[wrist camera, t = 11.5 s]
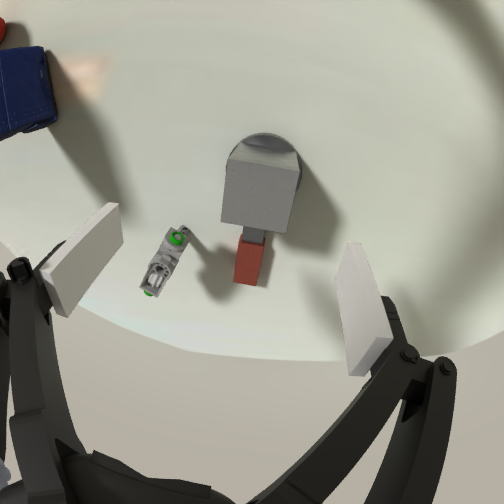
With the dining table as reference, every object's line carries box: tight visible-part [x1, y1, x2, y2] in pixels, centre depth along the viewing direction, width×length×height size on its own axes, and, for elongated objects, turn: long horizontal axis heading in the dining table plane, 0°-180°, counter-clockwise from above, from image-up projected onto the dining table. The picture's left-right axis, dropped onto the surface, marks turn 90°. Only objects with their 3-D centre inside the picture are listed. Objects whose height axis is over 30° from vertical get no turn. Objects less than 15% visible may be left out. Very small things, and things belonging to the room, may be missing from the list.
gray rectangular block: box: [221, 142, 300, 233], centre depth 29 cm, size 6×6×8 cm
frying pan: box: [226, 133, 302, 286], centre depth 34 cm, size 22×9×8 cm, turn 172°
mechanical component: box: [139, 225, 190, 297], centre depth 36 cm, size 3×10×10 cm, turn 147°
